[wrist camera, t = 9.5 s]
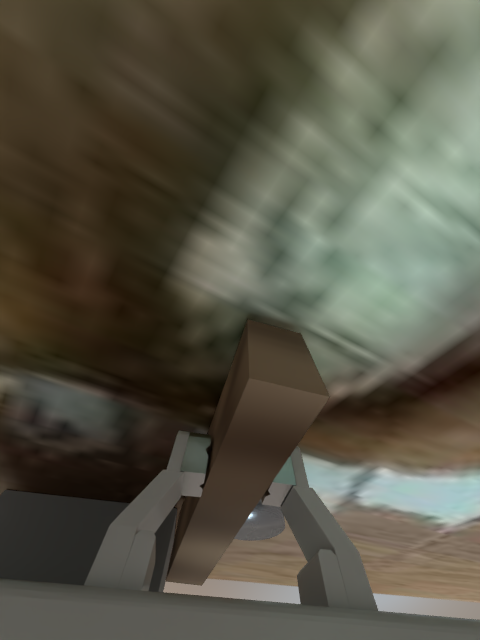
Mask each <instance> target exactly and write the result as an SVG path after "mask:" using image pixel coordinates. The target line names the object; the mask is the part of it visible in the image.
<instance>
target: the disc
mask: <svg viewBox="0 0 480 640" xmlns="http://www.w3.org/2000/svg"><path fill="white" fill-rule="evenodd" d="M284 528H285V521H284V514H283V512H282V510H281V507H277V506H270V505H263V504H262V500H261V499H260V501H259V502H258V504H257V505H256V507H255V508H254V510H253V511H252V513H251V514H250V515H249V517H248V518H247V520H246V521H245V523H244V524H243V526H242V527H241V529H240V530H239V532H238V533H237V535H236V536H235V538H234V539H239V540H263V539H268V538H272V537H274V536H277V535H278V534H280V533H281V532H282V531H283V530H284Z"/></svg>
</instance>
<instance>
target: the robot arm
mask: <svg viewBox="0 0 480 640" xmlns="http://www.w3.org/2000/svg"><path fill="white" fill-rule="evenodd" d="M210 442H211V435H207V434H200V433H193V432H187V431H178V433H177V436H176V440H175V443H174V446H173V449H172V453H171V456H170V459H169V463H168V466H167V469H166V470H162V471H161V472H160V473H159V474H158V475H157V476H156V477H155V478H154V479H153V480H152V481H151V482H150V483H149V485H148V486H147V487H146V488H145V489H144V490H143V491H142V492H141V493H140V494H139V495H138V496H137V497H136V498H135V499H134V500H133V501H132V502H131V503H130V504H129V505H128V507H127V508H126V509H125V510H124V511H123V512H122V513H121V514H120V515H119V516H118V517H117V518H116V519H115V520H114V521H113V522H112V523H111V524H110V526H109V528H108V530H107V533H106V535H105V537H104V540H103V542H102V544H101V547H100V549H99V551H98V554H97V556H96V558H95V561H94V563H93V565H92V567H91V570H90V572H89V574H88V577H87V579H86V581H85V584H84V585H72V584H61V583H49V582H37V581H26V580H14V579H3V578H0V640H480V620H476V619H475V620H474V619H464V618H452V617H441V616H429V615H417V614H406V613H395V612H394V613H393V612H383V611H378V609H377V605H376V602H375V600H374V596H373V593H372V590H371V587H370V584H369V581H368V578H367V575H366V572H365V569H364V566H363V563H362V560H361V557H360V554H359V552H358V550H357V549H356V547H355V546H354V545H353V543H352V542H351V541H350V539H349V538H348V536H347V535H346V534H345V532H344V531H343V530H342V528H341V527H340V525H339V524H338V523H337V521H336V520H335V519H334V517H333V516H332V514H331V513H330V512H329V510H328V509H327V508H326V506H325V505H324V503H323V502H322V501H321V499H320V498H319V497H318V495H317V494H316V492H315V491H314V490H313V488H309V485H308V481H307V476H306V472H305V468H304V464H303V459H302V455H301V451H300V449H299V447H297V446H296V448H295V449H294V451H293V452H292V454H291V455H290V457H289V458H288V460H287V461H286V463H285V464H284V465H283V467H282V468H281V470H280V471H279V473H278V474H277V476H276V477H275V479H274V480H273V481H272V483H271V485H270V486H269V488H268V489H267V490H266V492H265V493H264V495H263V496H262V498H261V500H262V504H263V505H270V506H277V507H281V510H282V512H283V514H284V516H285V518H286V520H287V522H288V524H289V526H290V528H291V530H292V532H293V534H294V536H295V538H296V540H297V542H298V544H299V546H300V548H301V550H302V552H303V554H304V556H305V558H306V560H307V562H308V563H307V564H306V565H305V566H304V567H303V568H302V569H301V570H300V572H299V573H298V575H297V579H298V587H299V594H300V602H301V604H291V603H280V602H279V603H278V602H268V601H255V600H245V599H233V598H222V597H210V596H199V595H187V594H175V593H164V592H153V591H149V587H150V583H151V578H152V574H153V570H154V566H155V553H156V536H155V534H154V533H155V532H156V531H157V529H158V528H159V526H160V525H161V524H162V522H163V521H164V520H165V518H166V517H167V515H168V514H169V513H170V511H171V510H172V509H173V507H174V506H175V504H176V503H177V502H178V500H179V499H180V498H181V495H182V496H194V497H201V495H202V490H203V484H204V480H205V474H206V468H207V462H208V453H209V448H210Z"/></svg>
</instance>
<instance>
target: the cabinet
mask: <svg viewBox="0 0 480 640" xmlns="http://www.w3.org/2000/svg"><path fill="white" fill-rule="evenodd" d="M129 504H130V503H121V502H112V501H103V500H94V499H85V498H76V497H67V496H57V495H48V494H39V493H30V492H21V491H12V490H5V491H4V492H3V493H2V494H1V495H0V578H3V579H14V580H26V581H37V582H49V583H61V584H72V585H84V584H85V581H86V579H87V577H88V574H89V572H90V570H91V567H92V565H93V563H94V561H95V558H96V556H97V554H98V551H99V549H100V547H101V544H102V542H103V540H104V537H105V535H106V533H107V530H108V528H109V526H110V524H111V523H112V522H113V521H114V520H115V519H116V518H117V517H118V516H119V515H120V514H121V513H122V512H123V511H124V510H125V509H126V508H127V507H128V505H129ZM176 515H177V509H176V508H173V509H172V510H171V511H170V513H169V514H168V515H167V517H166V518H165V520H164V521H163V522H162V524H161V525H160V526H159V528H158V529H157V531H156V532H155V533H154V534H155V536H156V553H155V566H154V570H153V574H152V578H151V583H150V587H149V591H153V592H163V590H164V585H165V580H166V576H167V571H168V566H169V562H170V557H171V552H172V547H173V543H174V535H175V525H176Z"/></svg>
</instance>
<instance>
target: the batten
mask: <svg viewBox="0 0 480 640" xmlns="http://www.w3.org/2000/svg"><path fill="white" fill-rule="evenodd" d="M329 398H330V396H329V394H328V392H327V389H326V387H325V385H324V383H323V381H322V378H321V376H320V374H319V372H318V370H317V368H316V365H315V363H314V361H313V359H312V357H311V354H310V352H309V350H308V348H307V346H306V343H305V341H304V339H303V337H302V335H301V333H297V332H293V331H290V330H286V329H282V328H279V327H275V326H271V325H268V324H264V323H260V322H256V321H253V320H249V319H247V322H246V325H245V328H244V331H243V333H242V336H241V339H240V342H239V345H238V348H237V351H236V354H235V356H234V359H233V362H232V365H231V368H230V371H229V374H228V376H227V379H226V382H225V385H224V388H223V391H222V394H221V397H220V399H219V402H218V405H217V408H216V411H215V414H214V417H213V419H212V422H211V425H210V428H209V431H208V434H207V435H211V442H210V448H209V453H208V462H207V468H206V474H205V480H204V484H203V490H202V495H201V497H194V496H186V497H185V500H184V503H183V505H182V508H181V511H180V515H179V519H178V524H177V529H176V534H175V538H174V543H173V548H172V552H171V557H170V562H169V567H168V571H167V576H166V581H168V582H176V583H184V584H193V585H202V584H203V583H204V581H205V580H206V579H207V577H208V576H209V574H210V573H211V571H212V570H213V568H214V567H215V565H216V564H217V563H218V561H219V560H220V558H221V557H222V555H223V554H224V552H225V551H226V549H227V548H228V546H229V545H230V543H231V542H232V540H233V539H234V538H235V536H236V535H237V533H238V532H239V530H240V529H241V527H242V526H243V524H244V523H245V521H246V520H247V518H248V517H249V515H250V514H251V513H252V511H253V510H254V508H255V507H256V505H257V504H258V502H259V501H260V499H261V498H262V496H263V495H264V493H265V492H266V490H267V489H268V488H269V486H270V485H271V483H272V481H273V480H274V479H275V477H276V476H277V474H278V473H279V471H280V470H281V468H282V467H283V465H284V464H285V463H286V461H287V460H288V458H289V457H290V455H291V454H292V452H293V451H294V449H295V448H296V446H297V445H298V443H299V442H300V441H301V439H302V438H303V436H304V435H305V433H306V432H307V430H308V429H309V427H310V426H311V424H312V423H313V421H314V420H315V418H316V417H317V416H318V414H319V413H320V411H321V410H322V408H323V407H324V405H325V404H326V402H327V401H328V399H329Z"/></svg>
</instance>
